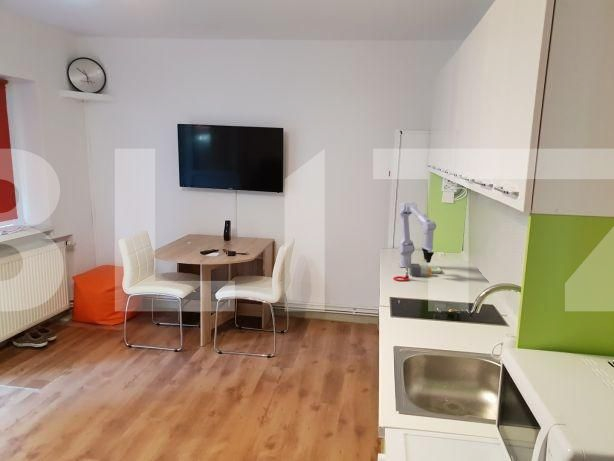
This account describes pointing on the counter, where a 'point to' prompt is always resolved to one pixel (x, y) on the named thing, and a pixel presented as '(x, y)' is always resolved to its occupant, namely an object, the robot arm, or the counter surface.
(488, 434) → the counter surface
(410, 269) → the pin
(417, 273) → the bracket
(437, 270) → the tray
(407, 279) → the tow hook
